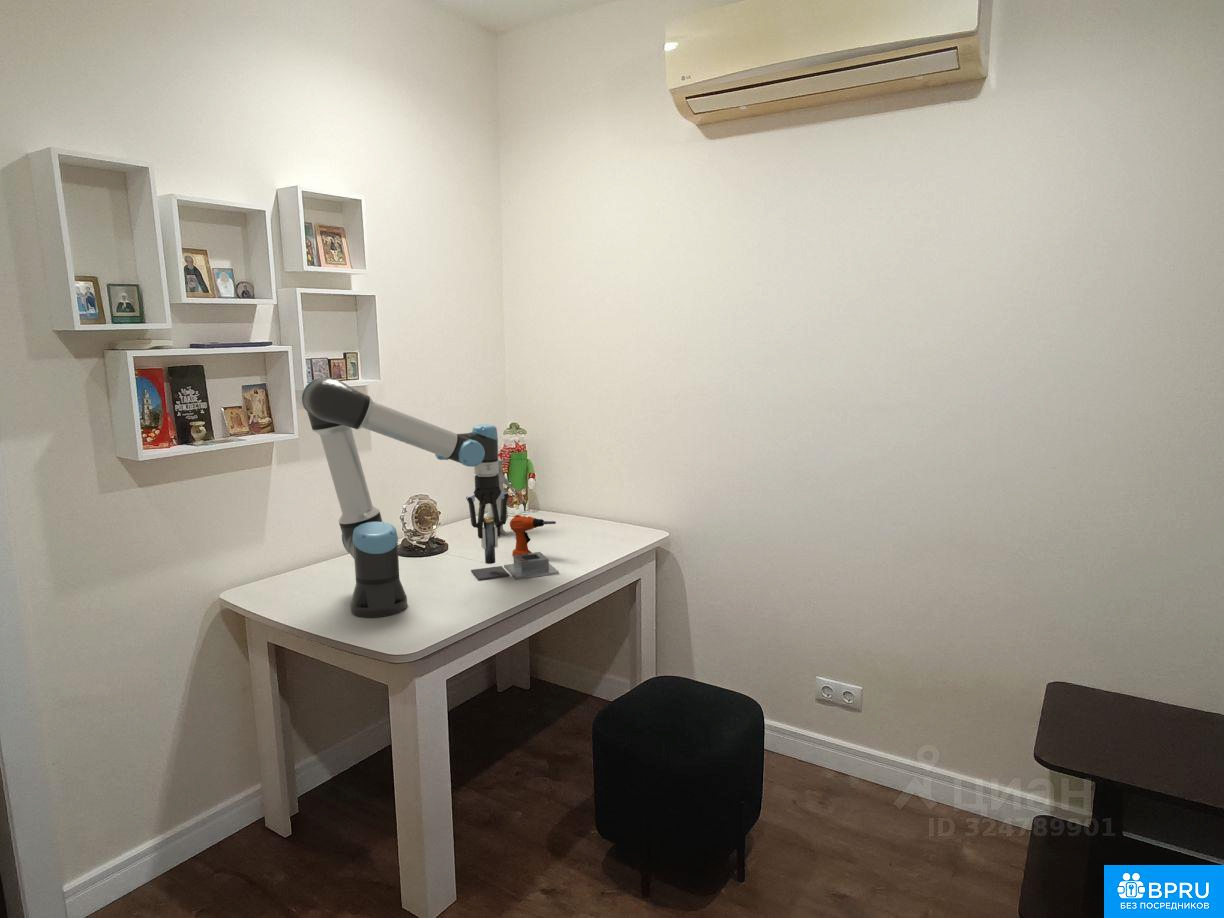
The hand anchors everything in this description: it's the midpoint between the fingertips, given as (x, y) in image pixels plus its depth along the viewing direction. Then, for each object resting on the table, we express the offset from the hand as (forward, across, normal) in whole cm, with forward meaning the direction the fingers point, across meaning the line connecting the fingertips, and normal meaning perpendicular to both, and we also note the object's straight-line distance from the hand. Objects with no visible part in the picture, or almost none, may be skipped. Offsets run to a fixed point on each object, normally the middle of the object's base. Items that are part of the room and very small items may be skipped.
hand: (489, 547), depth 241 cm
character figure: (+9, +15, +45) cm, 48 cm away
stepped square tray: (+9, +13, -2) cm, 16 cm away
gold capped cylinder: (+5, 0, 0) cm, 5 cm away
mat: (+9, 0, 0) cm, 9 cm away
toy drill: (+9, +18, +11) cm, 23 cm away
